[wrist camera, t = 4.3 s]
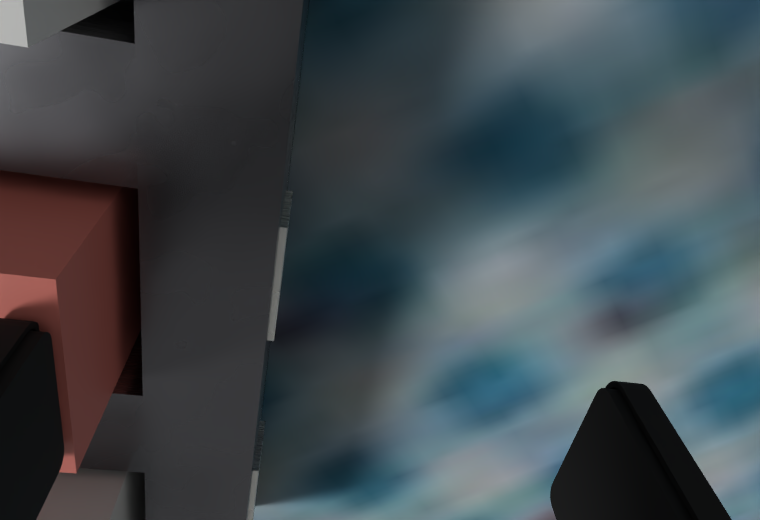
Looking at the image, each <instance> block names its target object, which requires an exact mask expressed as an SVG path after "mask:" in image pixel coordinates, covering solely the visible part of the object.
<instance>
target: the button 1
mask: <svg viewBox="0 0 760 520" xmlns="http://www.w3.org/2000/svg"><path fill="white" fill-rule="evenodd" d="M118 1H120V0H0V43H3V44H9V45H15V46H21V47H30V46H32V45H34V44H36V43H38V42H40V41H42V40H44V39H46V38H48V37H50V36H51V35H53V34H55V33H57V32H59V31H61V30H63V29H65V28H67V27H69V26H71V25H73V24H75V23H77V22H79V21H81V20H83V19H85V18H87V17H89V16H91V15H93V14H95V13H96V12H98V11H100V10H102V9H104V8H106V7H108V6H110V5H112V4H114V3H116V2H118Z"/></svg>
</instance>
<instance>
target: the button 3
mask: <svg viewBox="0 0 760 520" xmlns="http://www.w3.org/2000/svg"><path fill="white" fill-rule="evenodd" d="M36 520H146V515H145V473H143V472H129V471H114V470H100V469H86V468H79V469H78V471H77V473H62V472H59V473H58V476H57V478H56V480H55V482H54V484H53V486H52V488H51V490H50V492H49V494H48V496H47V498H46V500H45V503H44V505H43V507H42V509H41V511H40V513H39V515H38V517H37V519H36Z"/></svg>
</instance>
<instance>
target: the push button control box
mask: <svg viewBox="0 0 760 520" xmlns="http://www.w3.org/2000/svg"><path fill="white" fill-rule="evenodd" d="M308 6H309V0H120V1H118V2H116V3H114V4H112V5H110V6H108V7H106V8H104V9H102V10H100V11H98V12H96V13H95V14H93V15H91V16H89V17H87V18H85V19H83V20H81V21H79V22H77V23H75V24H73V25H71V26H69V27H67V28H65V29H63V30H61V31H59V32H57V33H55V34H53V35H51V36H50V37H48V38H46V39H44V40H42V41H40V42H38V43H36V44H34V45H32V46H30V47H21V46H15V45H9V44H3V43H0V170H3V171H10V172H18V173H25V174H32V175H40V176H47V177H55V178H62V179H69V180H77V181H84V182H92V183H99V184H106V185H114V186H121V187H129V188H136V189H138V207H139V251H140V295H141V330H140V333H139V335H138V337H137V339H136V341H135V344H134V346H133V348H132V350H131V353H130V355H129V357H128V359H127V362H126V364H125V366H124V368H123V371H122V373H121V375H120V377H119V379H118V382H117V384H116V386H115V388H114V391H113V393H112V395H111V397H110V400H109V402H108V404H107V406H106V409H105V411H104V413H103V415H102V418H101V420H100V422H99V424H98V426H97V429H96V431H95V433H94V435H93V438H92V440H91V442H90V444H89V447H88V449H87V451H86V453H85V456H84V458H83V460H82V462H81V465H80V467H79V468H86V469H100V470H114V471H129V472H143V473H145V515H146V520H253V516H254V509H255V501H256V494H257V486H258V478H259V469H260V461H261V453H262V444H263V436H264V428H265V421H261V416H262V407H263V398H264V390H265V381H266V372H267V364H268V355H269V346H270V341H274V337H275V330H276V323H277V316H278V309H279V301H280V294H281V286H282V277H283V269H284V261H285V252H286V244H287V235H288V227H289V219H290V210H291V202H292V194H293V191H288V190H287V189H288V180H289V172H290V163H291V154H292V145H293V137H294V128H295V119H296V111H297V102H298V93H299V84H300V76H301V67H302V58H303V49H304V41H305V32H306V23H307V15H308Z"/></svg>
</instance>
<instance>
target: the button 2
mask: <svg viewBox="0 0 760 520" xmlns="http://www.w3.org/2000/svg"><path fill="white" fill-rule="evenodd" d="M0 318H5V319H15V320H25V321H34V322H37V323H38V324H39V331H42V332H48V333H50V335H51V338H52V346H53V355H54V363H55V372H56V380H57V389H58V397H59V406H60V415H61V423H62V432H63V440H64V458H63V462H62V466H61V469H60V471H59V472H62V473H77V471H78V469H79V467H80V465H81V462H82V460H83V458H84V456H85V453H86V451H87V449H88V447H89V444H90V442H91V440H92V438H93V435H94V433H95V431H96V429H97V426H98V424H99V422H100V420H101V418H102V415H103V413H104V411H105V409H106V406H107V404H108V402H109V400H110V397H111V395H112V393H113V391H114V388H115V386H116V384H117V382H118V379H119V377H120V375H121V373H122V371H123V368H124V366H125V364H126V362H127V359H128V357H129V355H130V353H131V350H132V348H133V346H134V344H135V341H136V339H137V337H138V335H139V333H140V330H141V295H140V251H139V207H138V189H136V188H129V187H121V186H114V185H106V184H99V183H92V182H84V181H77V180H69V179H62V178H55V177H47V176H40V175H32V174H25V173H18V172H10V171H3V170H0Z"/></svg>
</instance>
